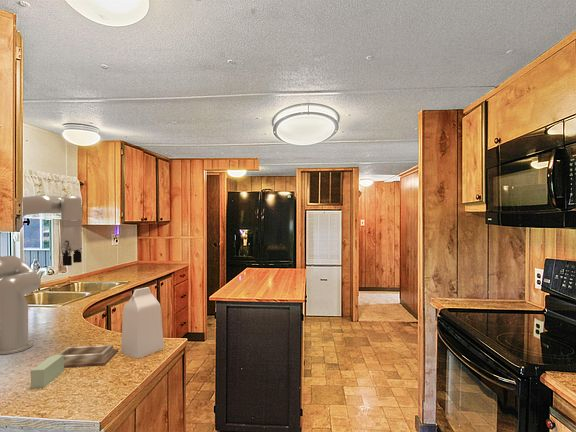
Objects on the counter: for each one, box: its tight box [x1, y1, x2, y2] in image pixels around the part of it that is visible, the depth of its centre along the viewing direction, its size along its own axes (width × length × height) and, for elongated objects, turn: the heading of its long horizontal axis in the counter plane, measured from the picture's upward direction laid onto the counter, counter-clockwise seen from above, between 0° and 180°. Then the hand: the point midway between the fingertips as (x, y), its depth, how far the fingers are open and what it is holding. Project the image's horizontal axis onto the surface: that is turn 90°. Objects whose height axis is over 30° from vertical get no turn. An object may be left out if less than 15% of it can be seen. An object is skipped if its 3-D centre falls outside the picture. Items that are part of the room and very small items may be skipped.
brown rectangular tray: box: [57, 344, 119, 369], centre depth 130 cm, size 20×13×4 cm, turn 97°
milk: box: [120, 286, 165, 360], centre depth 139 cm, size 12×12×26 cm
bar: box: [30, 354, 65, 389], centre depth 115 cm, size 4×12×6 cm, turn 7°
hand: (72, 263), depth 144 cm, fingers open, 9 cm apart
